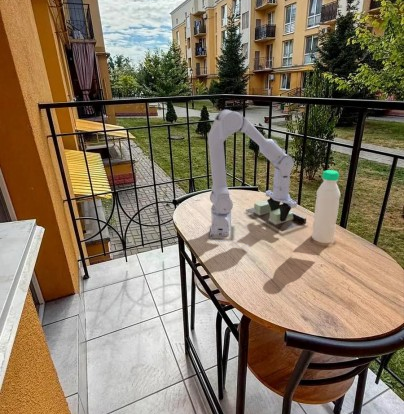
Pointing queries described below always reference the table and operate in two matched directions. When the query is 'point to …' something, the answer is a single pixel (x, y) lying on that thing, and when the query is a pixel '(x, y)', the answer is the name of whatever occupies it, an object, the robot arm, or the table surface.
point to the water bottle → (326, 208)
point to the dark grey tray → (283, 226)
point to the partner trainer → (261, 208)
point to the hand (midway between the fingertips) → (279, 218)
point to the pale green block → (276, 216)
